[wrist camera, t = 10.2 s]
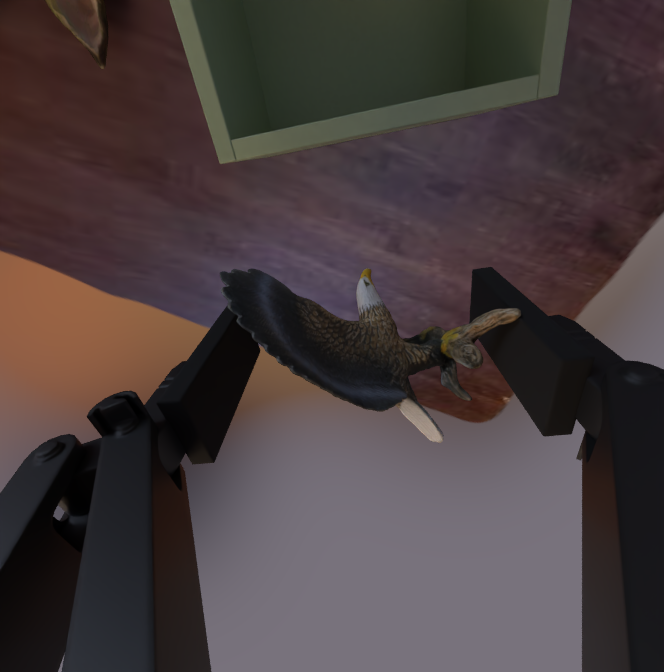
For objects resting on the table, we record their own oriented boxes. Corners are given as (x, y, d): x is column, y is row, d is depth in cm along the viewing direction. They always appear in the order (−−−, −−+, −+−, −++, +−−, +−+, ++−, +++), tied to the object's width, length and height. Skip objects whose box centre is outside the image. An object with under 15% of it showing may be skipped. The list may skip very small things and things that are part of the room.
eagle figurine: (485, 211, 11) (220, 199, 10) (564, 415, 8) (200, 440, 7) (410, 315, 18) (246, 317, 17) (438, 448, 15) (242, 463, 14)
